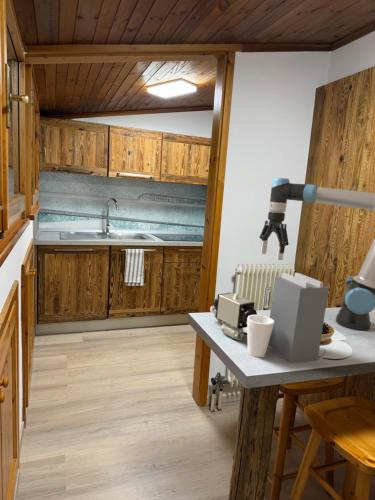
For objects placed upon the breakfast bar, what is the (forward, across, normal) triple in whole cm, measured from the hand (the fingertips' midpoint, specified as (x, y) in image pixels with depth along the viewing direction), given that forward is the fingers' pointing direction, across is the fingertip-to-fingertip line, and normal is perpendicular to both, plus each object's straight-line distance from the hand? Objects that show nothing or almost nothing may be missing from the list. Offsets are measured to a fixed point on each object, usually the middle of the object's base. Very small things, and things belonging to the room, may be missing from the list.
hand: (271, 256), depth 165 cm
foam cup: (+29, +36, -26) cm, 53 cm away
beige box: (+29, +6, -27) cm, 40 cm away
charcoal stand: (+29, +38, -12) cm, 49 cm away
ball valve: (+29, +21, -28) cm, 45 cm away
